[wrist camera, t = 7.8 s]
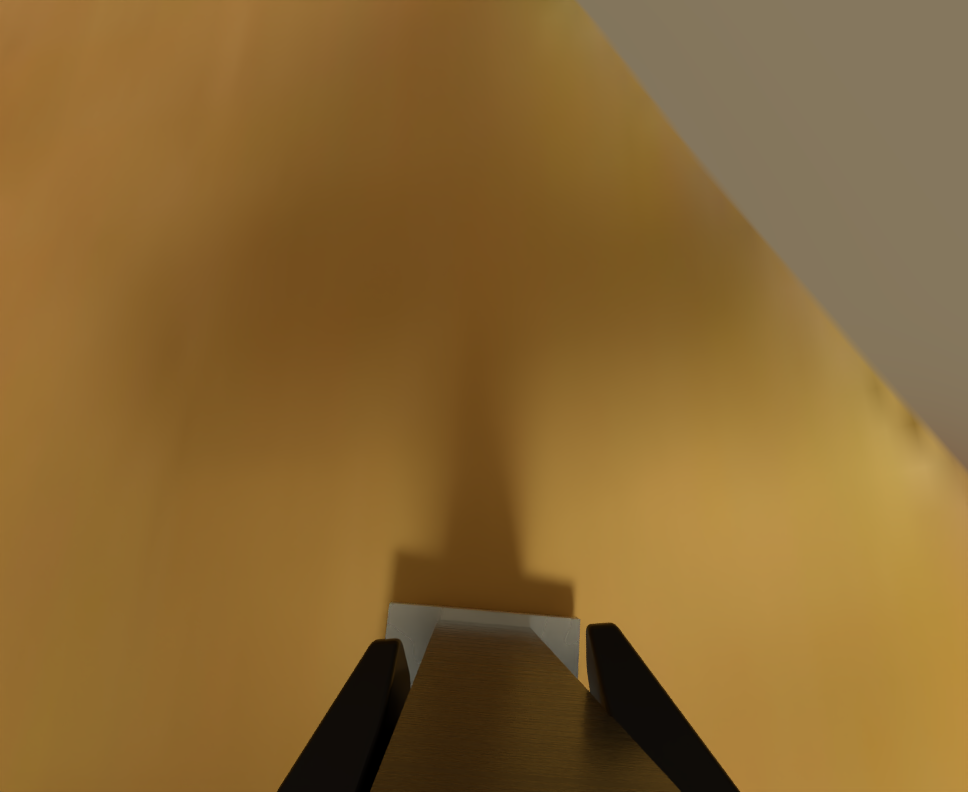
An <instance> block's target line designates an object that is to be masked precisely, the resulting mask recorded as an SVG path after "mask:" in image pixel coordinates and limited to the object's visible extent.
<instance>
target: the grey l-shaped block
mask: <svg viewBox="0 0 968 792" xmlns="http://www.w3.org/2000/svg"><path fill="white" fill-rule="evenodd" d="M579 634H580V619H579V618H577V617H566V616H554V615H543V614H531V613H519V612H508V611H496V610H484V609H473V608H461V607H449V606H438V605H426V604H414V603H403V602H390V603H389V611H388V620H387V628H386V637H385V639H391V638H398V639H400V640H401V642H402V643H403V647H404V651H405V656H406V660H407V664H408V668H409V673H410V681H411V689H410V692H409V694H408V697H407V699H406V702H405V704H404V707H403V709H402V712H401V714H400V717H399V720H398V722H397V725H396V727H395V730H394V732H393V735H392V737H391V740H390V742H389V745H388V747H387V750H386V753H385V755H384V758H383V760H382V763H381V765H380V768H379V770H378V773H377V775H376V778H375V780H374V783H373V786H372V788H371V791H370V792H681V791H680V790H679V789H678V788H677V786H676V785H675V784H674V783H673V782H672V781H671V780H670V779H669V778H668V777H667V776H666V775H665V773H664V772H663V771H662V770H661V769H660V768H659V767H658V766H657V765H656V764H655V763H654V761H653V760H652V759H651V758H650V757H649V756H648V755H647V754H646V753H645V752H644V751H643V750H642V748H641V747H640V746H639V745H638V744H637V743H636V742H635V741H634V740H633V739H632V738H631V737H630V735H629V734H628V733H627V732H626V731H625V730H624V729H623V728H622V727H621V726H620V725H619V723H618V722H617V721H616V720H615V719H614V718H613V717H612V716H611V715H609V714H607V713H606V711H605V710H604V709H603V707H602V706H601V704H600V703H599V702H598V701H597V700H596V698H595V697H594V696H593V695H592V694H591V693H590V692H589V691H588V690H587V689H586V688H585V687H584V685H583V684H582V683H581V682H580V681H579V680H578V659H579Z"/></svg>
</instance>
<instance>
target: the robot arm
mask: <svg viewBox="0 0 968 792" xmlns="http://www.w3.org/2000/svg"><path fill="white" fill-rule="evenodd" d="M586 661H587V673H588V680H589V687H590V693H591V694H592V695H593V696H594V697H595V698H596V700H597V701H598V702H599V703H600V704H601V706H602V707H603V709H604V710H605V711H606V713H607V714H609V715H611V716H612V717H613V718H614V719H615V720H616V721H617V722H618V723H619V725H620V726H621V727H622V728H623V729H624V730H625V731H626V732H627V733H628V734H629V735H630V737H631V738H632V739H633V740H634V741H635V742H636V743H637V744H638V745H639V746H640V747H641V748H642V750H643V751H644V752H645V753H646V754H647V755H648V756H649V757H650V758H651V759H652V760H653V761H654V763H655V764H656V765H657V766H658V767H659V768H660V769H661V770H662V771H663V772H664V773H665V775H666V776H667V777H668V778H669V779H670V780H671V781H672V782H673V783H674V784H675V785H676V786H677V788H678V789H679V790H680V791H681V792H740V791H739V789H738V788H737V787H736V785H735V784H734V783H733V781H732V780H731V779H730V777H729V776H728V775H727V773H726V772H725V771H724V769H723V768H722V767H721V765H720V764H719V763H718V761H717V760H716V758H715V757H714V756H713V754H712V753H711V752H710V750H709V749H708V748H707V746H706V745H705V744H704V742H703V741H702V740H701V738H700V737H699V736H698V734H697V733H696V732H695V730H694V729H693V727H692V726H691V725H690V723H689V722H688V721H687V719H686V718H685V717H684V715H683V714H682V713H681V711H680V710H679V709H678V707H677V706H676V705H675V703H674V702H673V701H672V699H671V698H670V697H669V695H668V694H667V692H666V691H665V690H664V688H663V687H662V686H661V684H660V683H659V682H658V680H657V679H656V678H655V676H654V675H653V674H652V672H651V671H650V670H649V668H648V667H647V666H646V664H645V663H644V661H643V660H642V659H641V657H640V656H639V655H638V653H637V652H636V651H635V649H634V648H633V647H632V645H631V644H630V643H629V641H628V640H627V639H626V637H625V636H624V635H623V633H622V632H621V630H620V629H619V628H618V627H617V626H616V625H615V624H613V623H597V624H590V625H588V626H587V628H586ZM410 689H411V681H410V673H409V668H408V664H407V660H406V656H405V651H404V647H403V643H402V642H401V640H400V639H398V638H391V639H378V640H375V641H373V642H372V643H371V644H370V646H369V647H368V649H367V650H366V652H365V654H364V655H363V657H362V658H361V660H360V661H359V663H358V665H357V666H356V668H355V669H354V671H353V672H352V674H351V676H350V677H349V679H348V680H347V682H346V683H345V685H344V687H343V688H342V690H341V691H340V693H339V694H338V696H337V698H336V699H335V701H334V702H333V704H332V706H331V707H330V709H329V710H328V712H327V713H326V715H325V717H324V718H323V720H322V721H321V723H320V724H319V726H318V728H317V729H316V731H315V732H314V734H313V735H312V737H311V739H310V740H309V742H308V743H307V745H306V746H305V748H304V750H303V751H302V753H301V754H300V756H299V757H298V759H297V761H296V762H295V764H294V765H293V767H292V768H291V770H290V772H289V773H288V775H287V776H286V778H285V780H284V781H283V783H282V784H281V786H280V787H279V789H278V791H277V792H370V791H371V788H372V786H373V783H374V780H375V778H376V775H377V773H378V770H379V768H380V765H381V763H382V760H383V758H384V755H385V753H386V750H387V747H388V745H389V742H390V740H391V737H392V735H393V732H394V730H395V727H396V725H397V722H398V720H399V717H400V714H401V712H402V709H403V707H404V704H405V702H406V699H407V697H408V694H409V692H410Z"/></svg>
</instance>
